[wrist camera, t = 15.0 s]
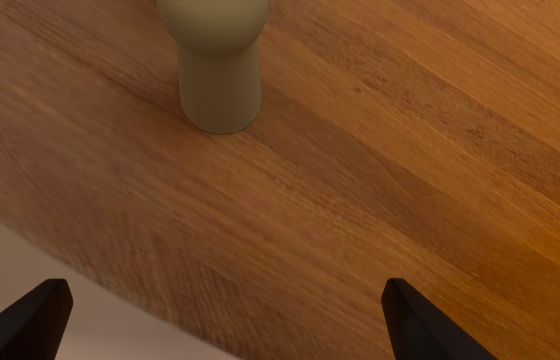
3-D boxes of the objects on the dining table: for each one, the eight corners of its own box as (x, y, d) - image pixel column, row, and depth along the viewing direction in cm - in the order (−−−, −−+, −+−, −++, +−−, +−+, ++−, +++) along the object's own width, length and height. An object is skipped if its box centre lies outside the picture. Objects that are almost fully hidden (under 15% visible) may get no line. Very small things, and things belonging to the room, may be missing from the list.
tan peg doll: (230, 47, 25) (226, -108, 15) (278, 105, 25) (310, -13, 14) (162, 86, 24) (105, -55, 13) (212, 150, 23) (192, 55, 13)
